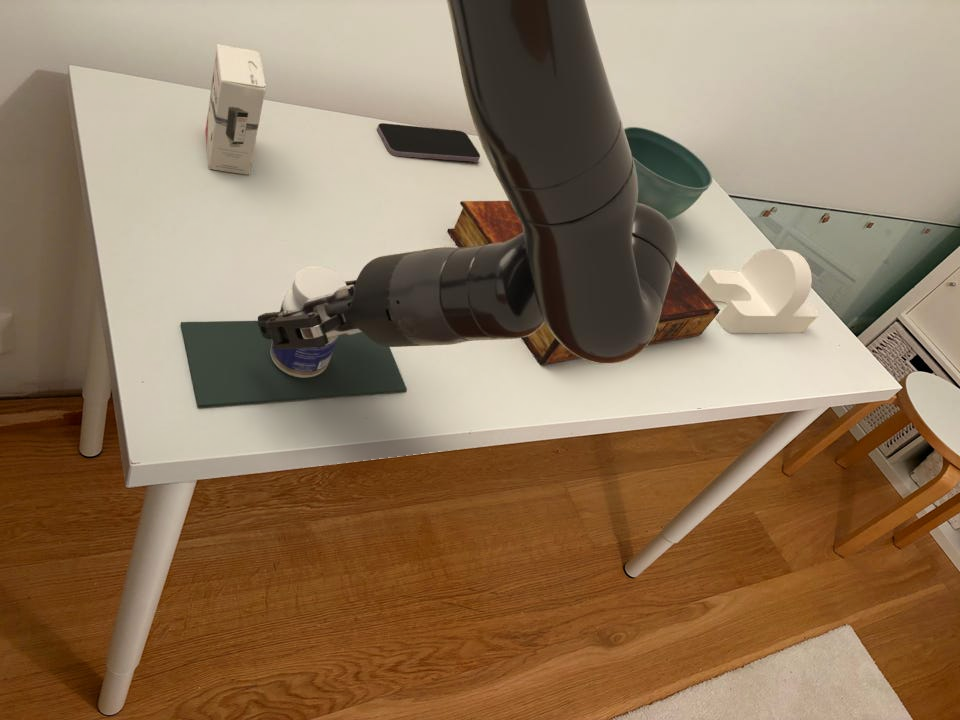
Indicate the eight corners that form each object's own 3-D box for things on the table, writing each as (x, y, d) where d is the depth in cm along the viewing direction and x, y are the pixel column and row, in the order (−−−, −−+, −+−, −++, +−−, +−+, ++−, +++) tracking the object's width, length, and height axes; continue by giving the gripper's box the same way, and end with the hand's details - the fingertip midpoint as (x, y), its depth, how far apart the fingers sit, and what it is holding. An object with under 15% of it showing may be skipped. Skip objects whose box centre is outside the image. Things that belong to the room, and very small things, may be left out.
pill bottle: (264, 335, 71) (283, 259, 64) (322, 336, 73) (345, 263, 67) (274, 381, 67) (295, 305, 61) (334, 379, 70) (360, 307, 63)
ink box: (203, 129, 90) (215, 39, 83) (244, 136, 92) (259, 49, 85) (207, 170, 85) (220, 78, 77) (250, 176, 87) (266, 88, 80)
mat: (197, 408, 63) (197, 405, 62) (180, 324, 68) (180, 321, 68) (406, 392, 73) (407, 389, 73) (376, 320, 79) (377, 318, 78)
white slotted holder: (692, 287, 110) (735, 231, 103) (770, 289, 119) (815, 239, 112) (727, 333, 104) (774, 278, 97) (806, 332, 113) (854, 282, 106)
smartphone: (375, 122, 106) (464, 130, 114) (374, 128, 107) (462, 136, 114) (391, 151, 102) (482, 158, 110) (389, 158, 103) (480, 164, 110)
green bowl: (568, 184, 117) (600, 126, 110) (630, 179, 127) (663, 125, 120) (632, 249, 110) (671, 192, 103) (692, 238, 121) (730, 185, 114)
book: (541, 366, 84) (560, 337, 80) (447, 231, 95) (460, 200, 92) (700, 336, 101) (721, 311, 98) (604, 224, 112) (620, 198, 109)
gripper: (467, 228, 61) (341, 249, 71) (347, 281, 51) (220, 297, 61) (489, 311, 63) (364, 320, 73) (379, 378, 53) (252, 378, 63)
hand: (299, 310), depth 67 cm, fingers open, 8 cm apart
